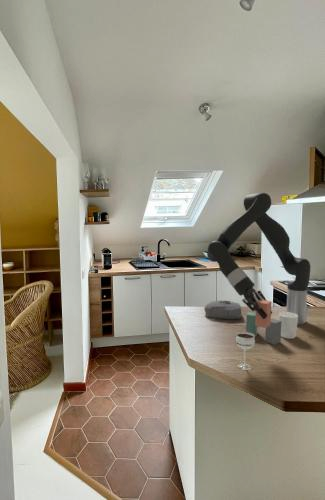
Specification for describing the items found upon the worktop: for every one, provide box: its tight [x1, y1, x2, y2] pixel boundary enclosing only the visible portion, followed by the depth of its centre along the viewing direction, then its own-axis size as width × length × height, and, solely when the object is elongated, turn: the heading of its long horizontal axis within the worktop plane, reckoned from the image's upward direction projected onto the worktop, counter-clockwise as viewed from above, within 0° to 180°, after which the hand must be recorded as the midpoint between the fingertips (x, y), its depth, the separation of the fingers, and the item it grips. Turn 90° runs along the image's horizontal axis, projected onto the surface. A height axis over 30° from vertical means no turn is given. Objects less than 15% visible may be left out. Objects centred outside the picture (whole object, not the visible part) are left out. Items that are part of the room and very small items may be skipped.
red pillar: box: [255, 299, 272, 329], centre depth 119 cm, size 4×4×10 cm
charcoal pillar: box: [264, 317, 282, 346], centre depth 130 cm, size 4×4×10 cm
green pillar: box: [245, 311, 259, 337], centre depth 139 cm, size 4×4×10 cm
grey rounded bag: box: [204, 300, 242, 320], centre depth 165 cm, size 15×8×20 cm
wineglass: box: [235, 330, 256, 371], centre depth 108 cm, size 7×7×12 cm
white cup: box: [278, 311, 298, 340], centre depth 137 cm, size 8×8×10 cm
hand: (268, 315), depth 117 cm, fingers closed on red pillar, 4 cm apart
